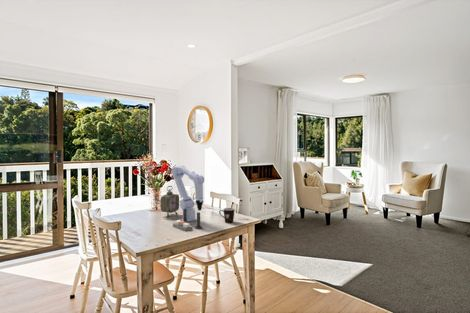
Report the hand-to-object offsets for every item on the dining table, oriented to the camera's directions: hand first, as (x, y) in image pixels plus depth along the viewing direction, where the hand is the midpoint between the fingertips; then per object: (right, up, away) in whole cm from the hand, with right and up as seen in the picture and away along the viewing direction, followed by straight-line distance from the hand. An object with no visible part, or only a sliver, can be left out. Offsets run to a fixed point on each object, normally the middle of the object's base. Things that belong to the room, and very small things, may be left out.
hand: (199, 210), depth 211 cm
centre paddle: (-11, -8, -10) cm, 17 cm away
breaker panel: (-11, -11, -10) cm, 18 cm away
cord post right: (0, -11, -10) cm, 15 cm away
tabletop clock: (-28, -10, +25) cm, 39 cm away
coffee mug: (+21, -10, +6) cm, 24 cm away
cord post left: (-11, -10, +2) cm, 16 cm away
